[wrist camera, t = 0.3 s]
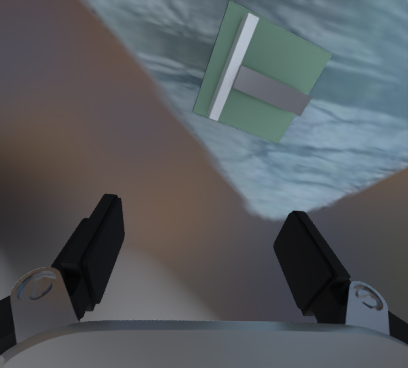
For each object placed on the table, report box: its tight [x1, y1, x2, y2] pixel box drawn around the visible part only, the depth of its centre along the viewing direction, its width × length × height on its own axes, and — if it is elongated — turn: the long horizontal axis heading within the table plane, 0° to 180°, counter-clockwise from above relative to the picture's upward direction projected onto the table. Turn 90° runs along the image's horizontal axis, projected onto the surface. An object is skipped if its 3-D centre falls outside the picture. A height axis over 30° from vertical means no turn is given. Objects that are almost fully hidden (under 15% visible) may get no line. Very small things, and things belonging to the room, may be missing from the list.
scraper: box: [208, 13, 312, 121], centre depth 31 cm, size 14×14×5 cm
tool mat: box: [193, 0, 332, 144], centre depth 34 cm, size 16×18×1 cm
